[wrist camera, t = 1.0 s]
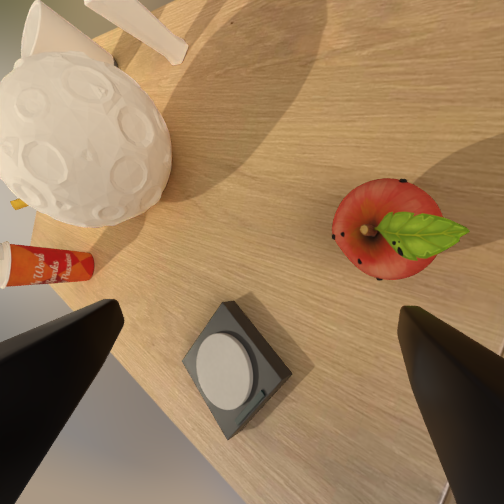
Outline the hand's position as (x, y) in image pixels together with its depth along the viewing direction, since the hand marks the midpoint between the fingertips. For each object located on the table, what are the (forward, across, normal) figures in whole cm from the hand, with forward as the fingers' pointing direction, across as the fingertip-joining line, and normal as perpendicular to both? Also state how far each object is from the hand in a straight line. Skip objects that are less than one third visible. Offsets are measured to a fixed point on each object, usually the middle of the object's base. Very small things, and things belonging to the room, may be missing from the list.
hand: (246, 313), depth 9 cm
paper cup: (+35, +41, +16) cm, 57 cm away
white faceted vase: (+40, +16, -17) cm, 47 cm away
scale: (+15, +6, +18) cm, 25 cm away
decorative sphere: (+34, +20, -1) cm, 39 cm away
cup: (+52, +36, -18) cm, 66 cm away
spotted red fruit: (+15, -9, +4) cm, 18 cm away
